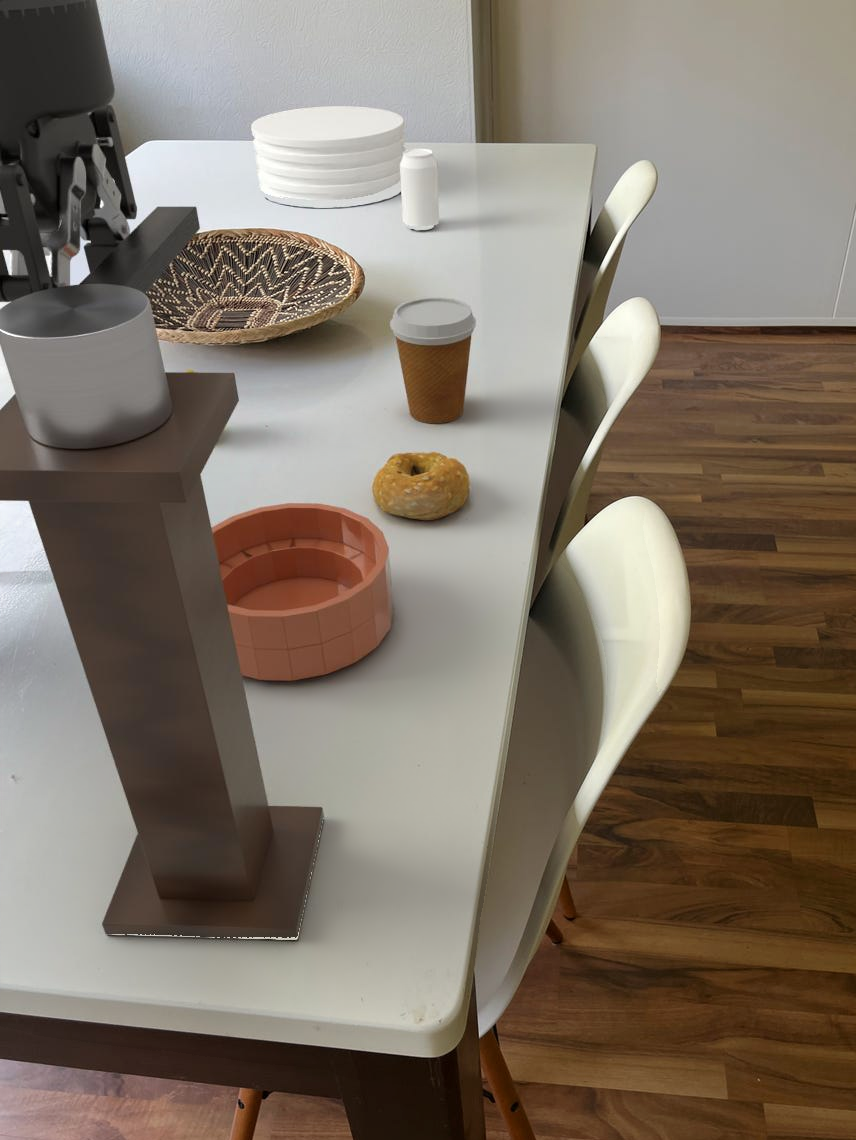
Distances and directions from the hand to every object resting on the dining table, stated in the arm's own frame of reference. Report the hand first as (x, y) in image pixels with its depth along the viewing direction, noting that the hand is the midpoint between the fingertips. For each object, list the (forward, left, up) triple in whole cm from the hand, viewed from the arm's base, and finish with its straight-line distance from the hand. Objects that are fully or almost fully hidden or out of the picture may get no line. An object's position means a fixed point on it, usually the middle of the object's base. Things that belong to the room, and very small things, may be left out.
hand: (95, 338), depth 56 cm
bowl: (+4, +16, -32) cm, 36 cm away
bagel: (+13, +37, -32) cm, 50 cm away
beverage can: (+5, +128, -32) cm, 132 cm away
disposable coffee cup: (+13, +57, -32) cm, 66 cm away
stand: (+4, -11, -32) cm, 34 cm away
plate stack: (-14, +153, -32) cm, 156 cm away
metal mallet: (+4, -5, +1) cm, 7 cm away
